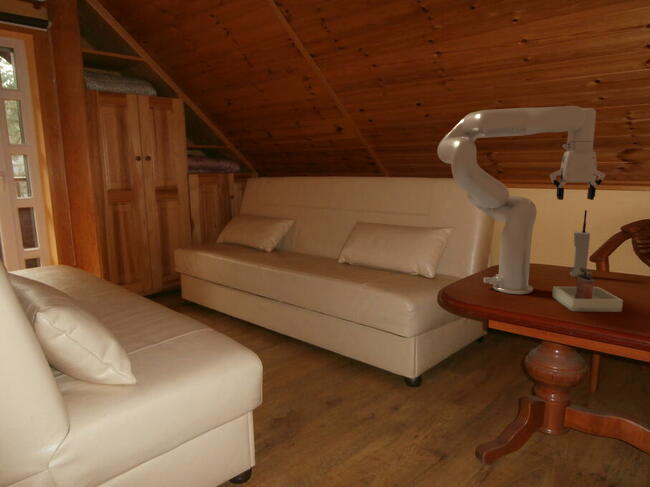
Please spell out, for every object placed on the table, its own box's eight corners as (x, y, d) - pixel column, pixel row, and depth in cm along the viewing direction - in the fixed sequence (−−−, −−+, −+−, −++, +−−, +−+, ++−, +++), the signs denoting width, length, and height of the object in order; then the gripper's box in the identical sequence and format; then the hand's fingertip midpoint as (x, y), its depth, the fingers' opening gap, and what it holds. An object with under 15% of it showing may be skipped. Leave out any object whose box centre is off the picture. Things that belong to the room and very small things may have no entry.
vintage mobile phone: (570, 274, 177) (576, 209, 172) (585, 275, 175) (591, 209, 170) (570, 276, 174) (576, 210, 169) (585, 278, 172) (592, 210, 167)
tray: (571, 311, 136) (573, 299, 135) (552, 296, 149) (553, 286, 149) (621, 311, 135) (623, 300, 134) (597, 297, 148) (598, 286, 148)
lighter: (594, 305, 138) (598, 272, 136) (582, 304, 138) (585, 272, 136) (583, 297, 145) (586, 266, 144) (572, 296, 146) (575, 265, 144)
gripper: (556, 147, 149) (552, 200, 152) (613, 146, 148) (608, 200, 151) (548, 148, 157) (544, 198, 160) (601, 147, 155) (596, 198, 158)
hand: (575, 199), depth 155 cm, fingers open, 9 cm apart
